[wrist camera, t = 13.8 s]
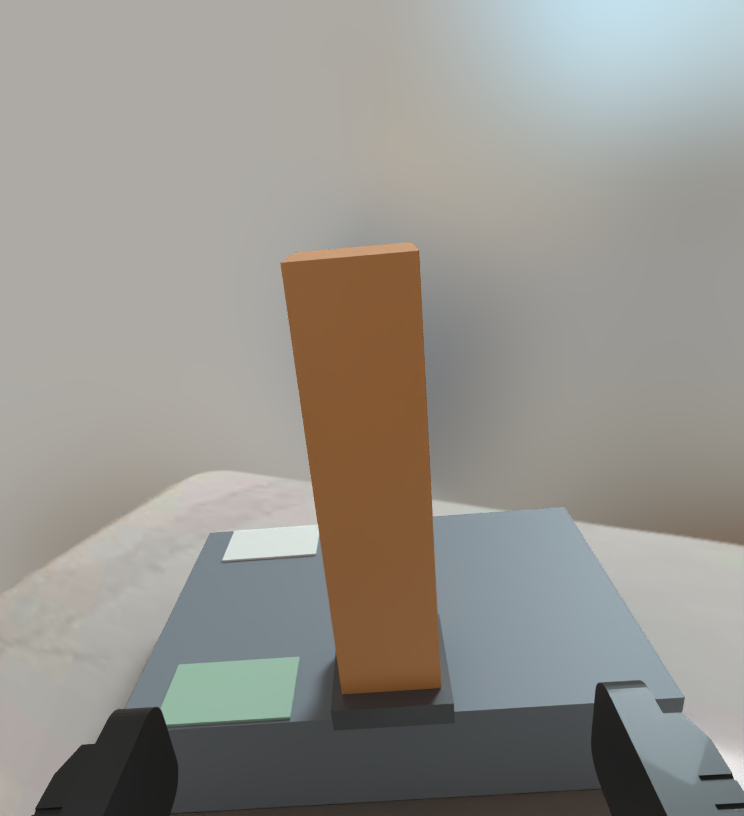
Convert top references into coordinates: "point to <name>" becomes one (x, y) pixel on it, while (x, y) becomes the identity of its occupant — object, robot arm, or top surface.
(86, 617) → the top surface
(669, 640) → the top surface
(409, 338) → the handle
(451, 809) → the top surface
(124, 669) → the top surface
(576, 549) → the switch box
